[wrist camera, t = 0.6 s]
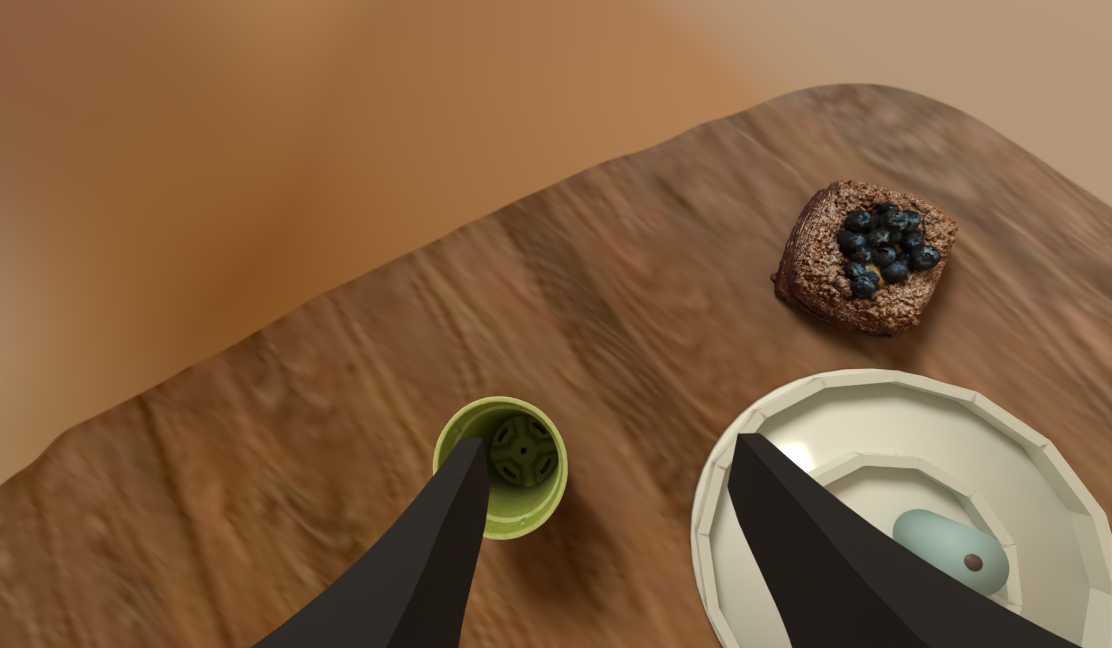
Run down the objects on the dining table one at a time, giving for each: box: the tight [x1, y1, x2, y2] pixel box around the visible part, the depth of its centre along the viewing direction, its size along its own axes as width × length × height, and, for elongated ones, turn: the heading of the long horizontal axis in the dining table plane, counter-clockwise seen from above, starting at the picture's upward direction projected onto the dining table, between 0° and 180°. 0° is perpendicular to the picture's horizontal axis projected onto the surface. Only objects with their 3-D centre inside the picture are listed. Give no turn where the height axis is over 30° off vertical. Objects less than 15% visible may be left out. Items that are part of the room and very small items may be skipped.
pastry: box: [770, 180, 958, 338], centre depth 33 cm, size 11×12×6 cm
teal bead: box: [893, 509, 1009, 596], centre depth 29 cm, size 4×4×5 cm
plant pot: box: [433, 397, 568, 540], centre depth 33 cm, size 9×9×9 cm
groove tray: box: [690, 369, 1112, 648], centre depth 31 cm, size 28×28×2 cm
